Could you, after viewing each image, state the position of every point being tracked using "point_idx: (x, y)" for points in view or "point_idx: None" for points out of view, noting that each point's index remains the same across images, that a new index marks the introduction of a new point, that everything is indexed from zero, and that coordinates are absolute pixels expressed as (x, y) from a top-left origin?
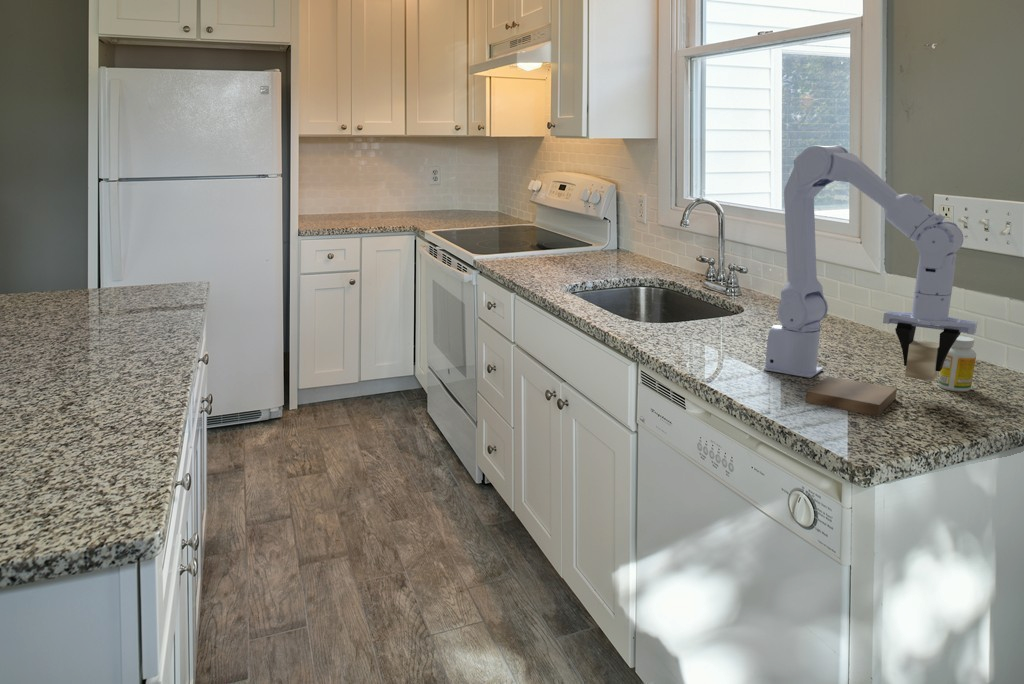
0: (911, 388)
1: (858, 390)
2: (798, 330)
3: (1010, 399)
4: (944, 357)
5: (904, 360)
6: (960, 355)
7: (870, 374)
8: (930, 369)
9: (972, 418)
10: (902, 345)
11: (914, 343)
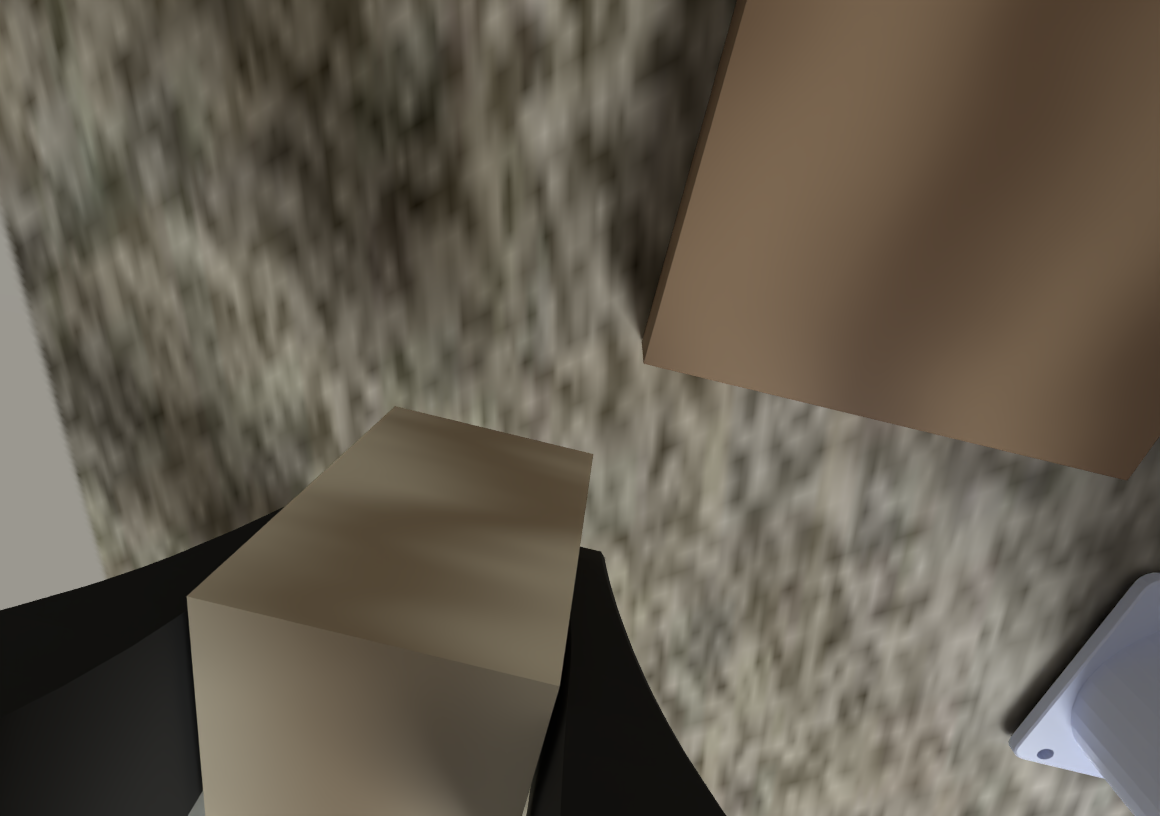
0: None
1: (965, 148)
2: None
3: (120, 561)
4: None
5: (603, 574)
6: None
7: (746, 737)
8: (382, 457)
9: (188, 99)
10: (642, 703)
11: (493, 746)
